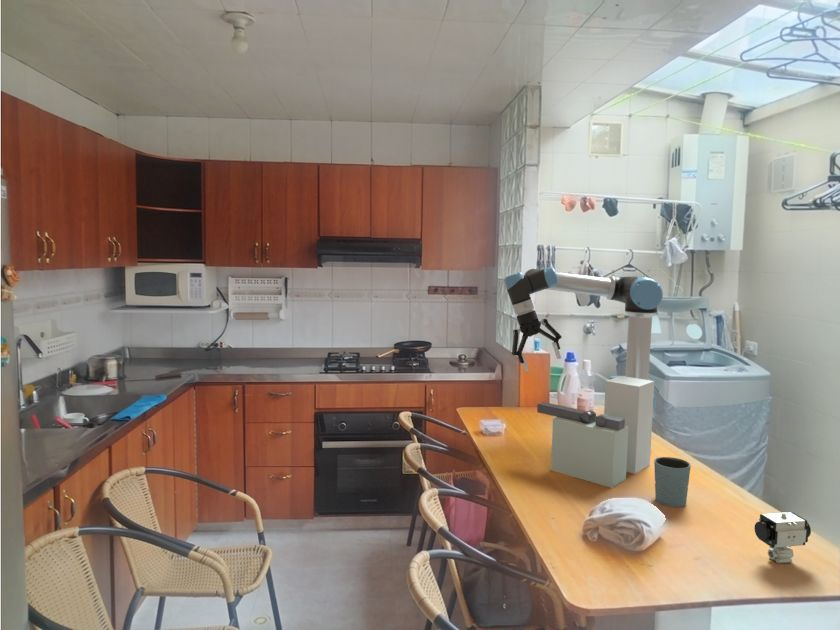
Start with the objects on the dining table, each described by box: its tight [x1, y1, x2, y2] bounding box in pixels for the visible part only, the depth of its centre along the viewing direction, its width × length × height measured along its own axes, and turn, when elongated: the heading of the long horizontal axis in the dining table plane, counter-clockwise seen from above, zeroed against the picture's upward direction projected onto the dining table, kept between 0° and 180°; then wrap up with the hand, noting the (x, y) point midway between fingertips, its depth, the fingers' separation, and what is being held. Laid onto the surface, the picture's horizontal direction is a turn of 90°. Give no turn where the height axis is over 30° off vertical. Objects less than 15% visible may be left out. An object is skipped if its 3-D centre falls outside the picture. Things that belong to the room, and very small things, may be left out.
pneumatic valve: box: [754, 512, 812, 564], centre depth 144 cm, size 6×12×12 cm, turn 99°
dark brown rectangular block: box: [536, 401, 597, 424], centre depth 203 cm, size 20×5×3 cm, turn 46°
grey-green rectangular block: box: [550, 413, 629, 489], centre depth 198 cm, size 22×10×21 cm, turn 46°
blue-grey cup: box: [653, 456, 692, 508], centre depth 178 cm, size 10×10×12 cm
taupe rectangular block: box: [603, 375, 655, 475], centre depth 207 cm, size 12×12×30 cm
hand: (543, 364), depth 229 cm, fingers open, 13 cm apart
